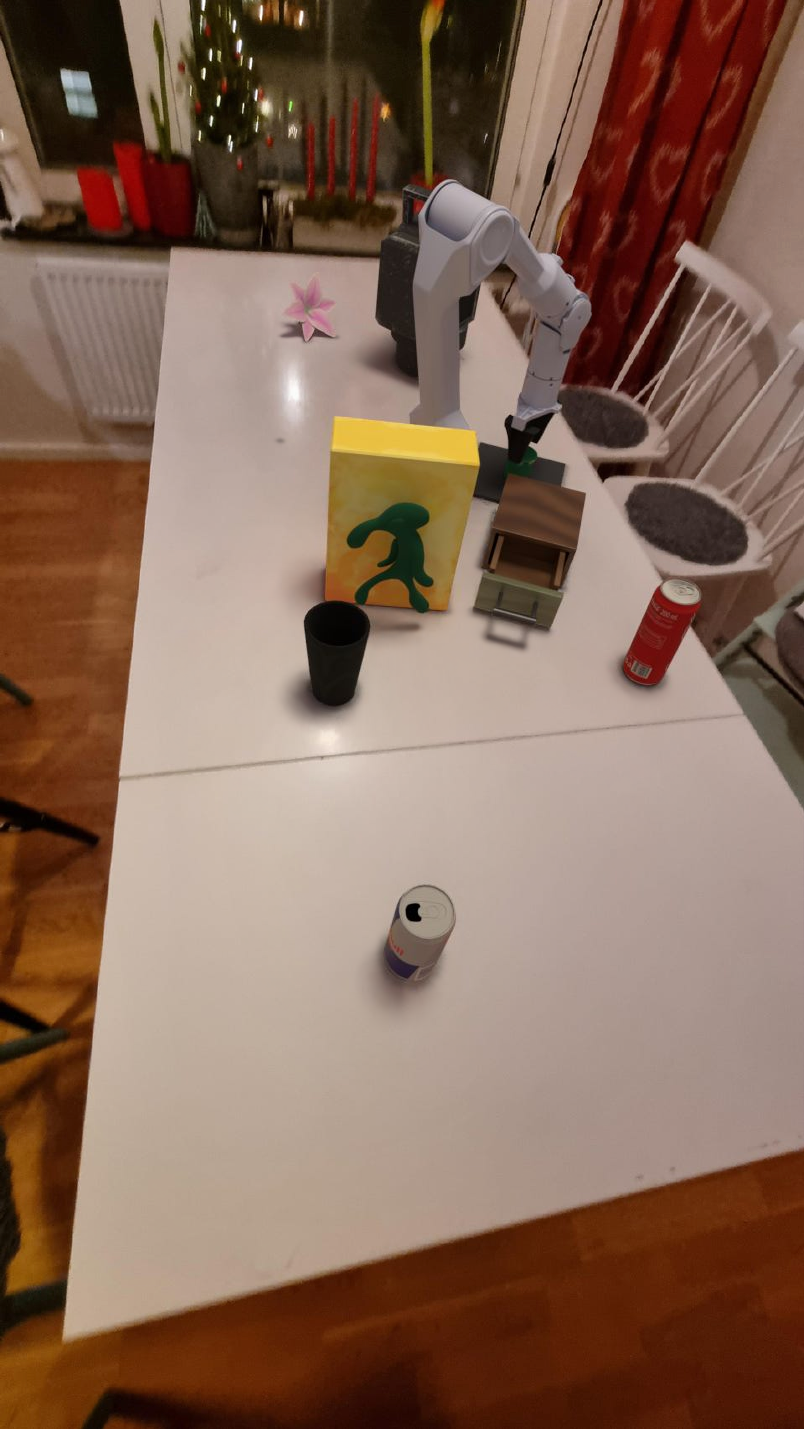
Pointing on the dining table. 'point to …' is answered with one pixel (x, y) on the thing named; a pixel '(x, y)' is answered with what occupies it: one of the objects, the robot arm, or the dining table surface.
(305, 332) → the lily
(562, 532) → the cabinet
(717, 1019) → the dining table surface
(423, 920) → the energy drink
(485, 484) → the mat
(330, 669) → the cup
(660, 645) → the beverage can
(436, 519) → the mottled yellow carton
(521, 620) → the drawer
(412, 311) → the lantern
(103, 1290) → the dining table surface
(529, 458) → the green cylinder
